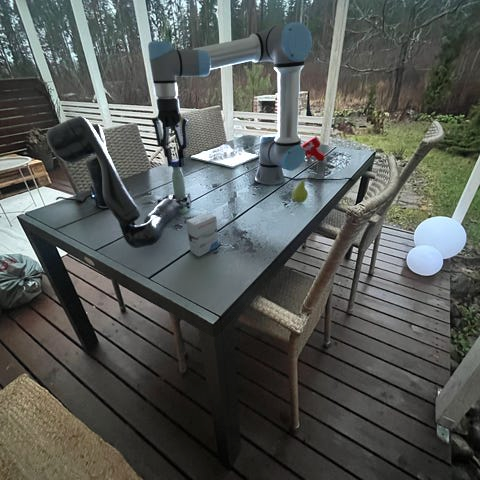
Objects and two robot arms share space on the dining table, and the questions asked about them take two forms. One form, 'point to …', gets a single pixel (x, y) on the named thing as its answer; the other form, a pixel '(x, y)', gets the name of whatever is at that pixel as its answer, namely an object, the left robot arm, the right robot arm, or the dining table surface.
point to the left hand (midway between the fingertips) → (182, 194)
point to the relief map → (225, 156)
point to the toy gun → (313, 149)
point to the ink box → (202, 233)
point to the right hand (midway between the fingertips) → (176, 165)
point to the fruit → (300, 192)
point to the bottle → (179, 186)
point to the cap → (174, 163)
